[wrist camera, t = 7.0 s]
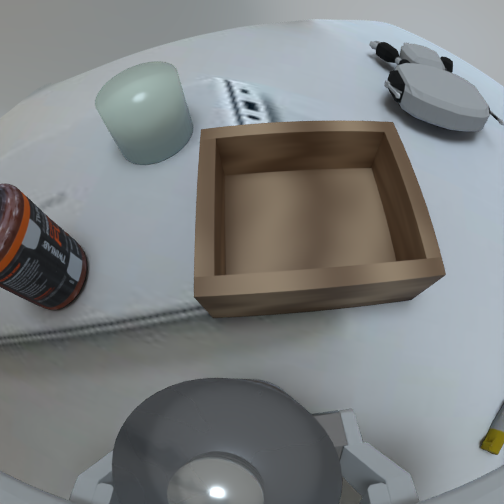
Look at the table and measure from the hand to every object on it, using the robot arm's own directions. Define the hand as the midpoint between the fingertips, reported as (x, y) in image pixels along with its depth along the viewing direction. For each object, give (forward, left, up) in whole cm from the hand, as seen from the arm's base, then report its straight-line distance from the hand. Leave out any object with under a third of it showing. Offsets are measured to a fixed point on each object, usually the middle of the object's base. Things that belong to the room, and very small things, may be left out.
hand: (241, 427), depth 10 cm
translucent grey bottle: (0, -1, -6) cm, 6 cm away
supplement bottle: (-15, +9, -8) cm, 19 cm away
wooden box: (+4, +11, -7) cm, 14 cm away
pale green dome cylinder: (-8, +22, -7) cm, 25 cm away
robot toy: (+20, +27, -8) cm, 35 cm away
